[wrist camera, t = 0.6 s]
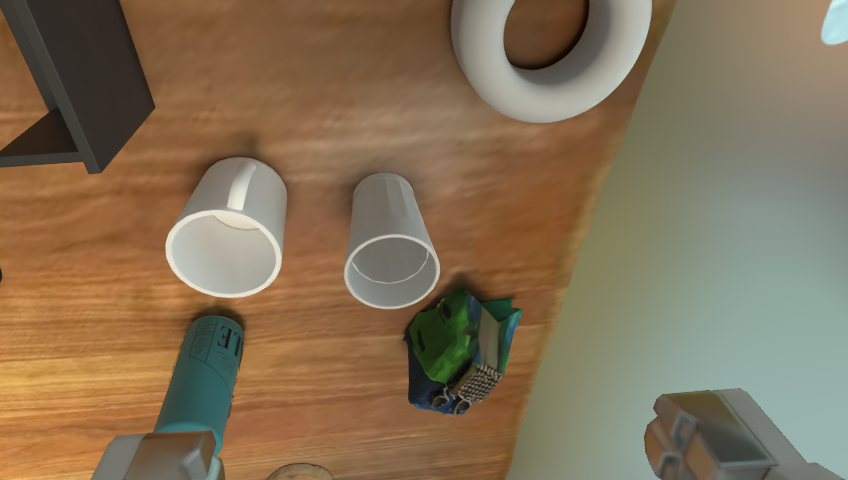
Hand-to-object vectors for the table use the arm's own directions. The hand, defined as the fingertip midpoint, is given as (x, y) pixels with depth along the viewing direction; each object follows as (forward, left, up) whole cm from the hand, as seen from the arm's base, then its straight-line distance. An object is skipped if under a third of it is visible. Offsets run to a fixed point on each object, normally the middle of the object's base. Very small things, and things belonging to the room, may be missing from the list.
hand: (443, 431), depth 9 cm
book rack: (+1, -23, -39) cm, 46 cm away
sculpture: (+37, +8, -40) cm, 54 cm away
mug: (+16, -13, -40) cm, 44 cm away
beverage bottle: (+34, -20, -40) cm, 55 cm away
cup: (+19, 0, -40) cm, 44 cm away
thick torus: (+2, +14, -40) cm, 42 cm away
